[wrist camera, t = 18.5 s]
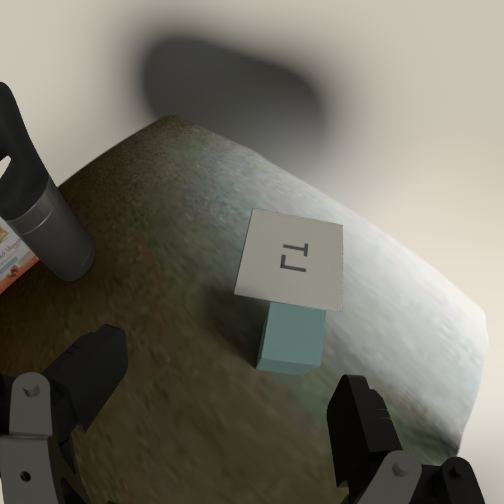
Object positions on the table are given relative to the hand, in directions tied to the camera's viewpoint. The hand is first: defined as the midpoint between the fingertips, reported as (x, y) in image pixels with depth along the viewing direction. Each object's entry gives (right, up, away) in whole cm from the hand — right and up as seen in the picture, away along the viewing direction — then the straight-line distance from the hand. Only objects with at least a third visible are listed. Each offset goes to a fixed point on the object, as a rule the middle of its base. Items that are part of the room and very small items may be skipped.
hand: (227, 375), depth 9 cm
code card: (+8, +4, +34) cm, 35 cm away
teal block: (+5, -9, +26) cm, 28 cm away
